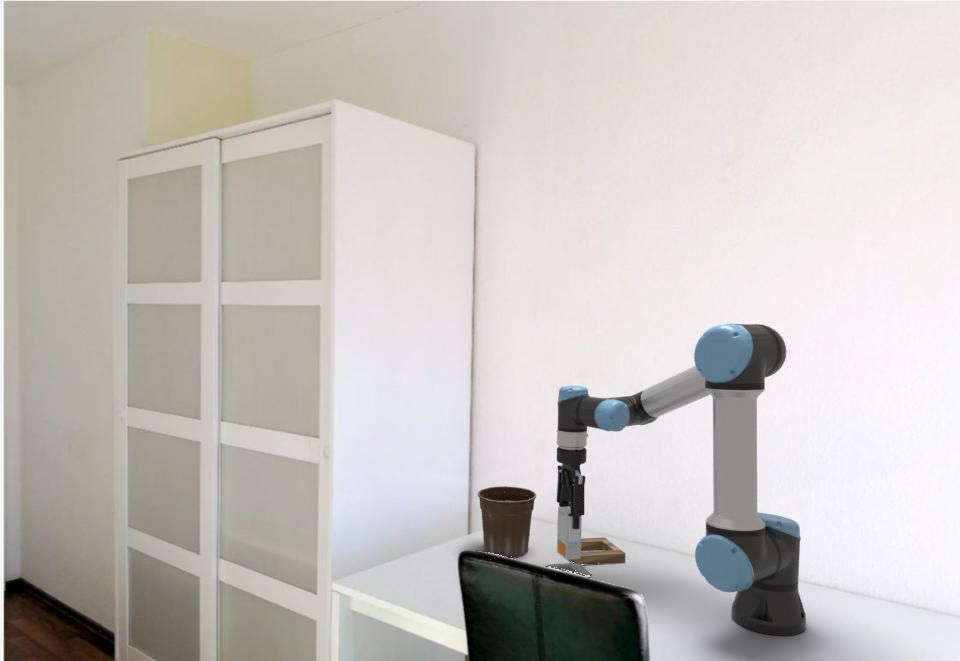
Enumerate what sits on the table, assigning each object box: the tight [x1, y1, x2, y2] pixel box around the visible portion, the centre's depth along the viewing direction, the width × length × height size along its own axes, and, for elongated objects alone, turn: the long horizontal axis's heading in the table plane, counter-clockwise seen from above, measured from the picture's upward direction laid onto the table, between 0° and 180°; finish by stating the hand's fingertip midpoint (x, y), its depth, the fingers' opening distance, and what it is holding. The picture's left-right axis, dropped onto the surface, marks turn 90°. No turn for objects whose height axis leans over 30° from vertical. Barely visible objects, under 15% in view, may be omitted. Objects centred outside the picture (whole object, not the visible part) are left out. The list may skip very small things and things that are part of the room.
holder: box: [570, 536, 626, 565], centre depth 202 cm, size 14×14×2 cm
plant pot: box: [477, 485, 537, 559], centre depth 204 cm, size 16×16×16 cm
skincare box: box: [556, 506, 583, 561], centre depth 189 cm, size 6×4×12 cm
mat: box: [545, 562, 593, 577], centre depth 189 cm, size 9×9×1 cm
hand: (569, 536), depth 189 cm, fingers closed on skincare box, 6 cm apart
